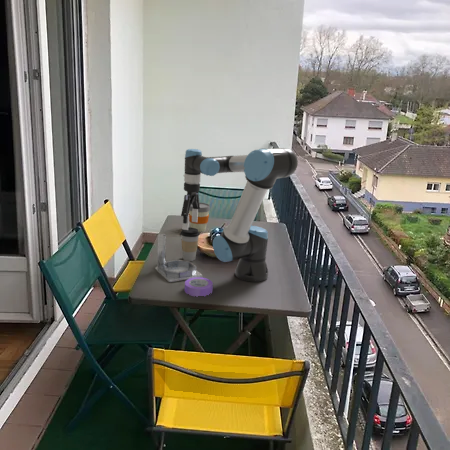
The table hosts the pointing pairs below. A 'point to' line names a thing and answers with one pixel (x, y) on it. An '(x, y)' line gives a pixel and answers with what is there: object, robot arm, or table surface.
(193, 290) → the masking tape
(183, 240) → the coffee cup
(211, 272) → the table surface
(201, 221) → the reusable coffee cup
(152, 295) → the table surface
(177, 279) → the ring base with post
